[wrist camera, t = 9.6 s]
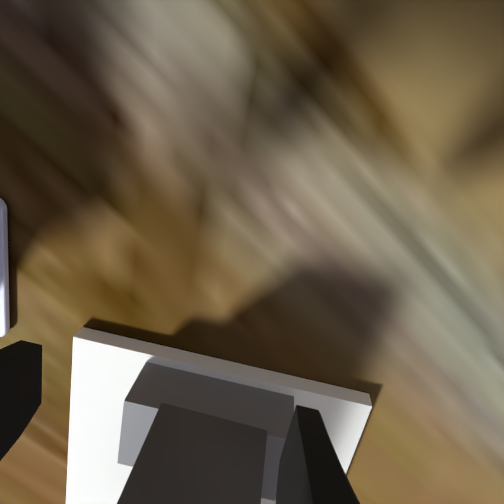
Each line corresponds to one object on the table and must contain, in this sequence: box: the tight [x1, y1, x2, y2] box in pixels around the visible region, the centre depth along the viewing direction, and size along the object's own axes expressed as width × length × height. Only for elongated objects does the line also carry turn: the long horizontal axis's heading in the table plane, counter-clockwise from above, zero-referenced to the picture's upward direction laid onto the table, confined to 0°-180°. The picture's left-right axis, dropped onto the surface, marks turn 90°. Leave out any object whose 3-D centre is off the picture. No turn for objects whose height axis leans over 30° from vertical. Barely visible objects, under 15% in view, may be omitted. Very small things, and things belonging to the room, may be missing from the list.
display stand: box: [66, 327, 372, 504], centre depth 24 cm, size 16×15×4 cm
